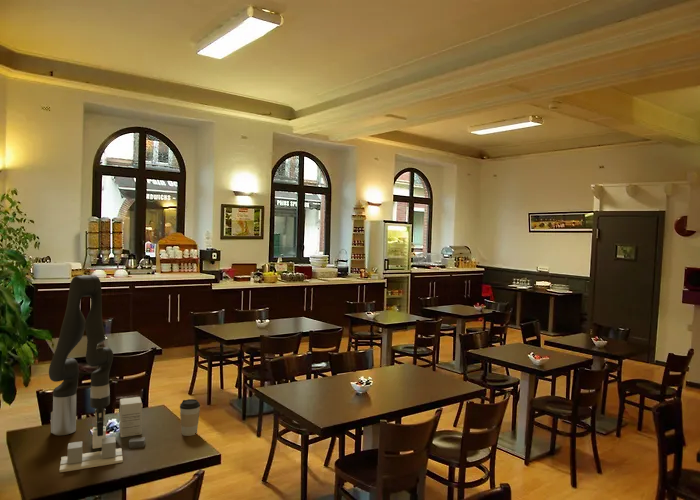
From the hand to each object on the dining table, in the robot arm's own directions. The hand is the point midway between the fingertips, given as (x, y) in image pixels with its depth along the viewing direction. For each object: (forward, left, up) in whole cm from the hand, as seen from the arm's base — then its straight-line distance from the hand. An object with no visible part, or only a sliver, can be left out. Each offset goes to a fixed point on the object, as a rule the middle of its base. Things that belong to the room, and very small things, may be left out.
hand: (100, 432), depth 218 cm
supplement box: (+4, +15, -6) cm, 17 cm away
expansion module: (-1, 0, -6) cm, 6 cm away
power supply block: (+15, +3, -6) cm, 17 cm away
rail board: (+6, -14, -6) cm, 16 cm away
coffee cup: (+30, +21, -6) cm, 38 cm away
